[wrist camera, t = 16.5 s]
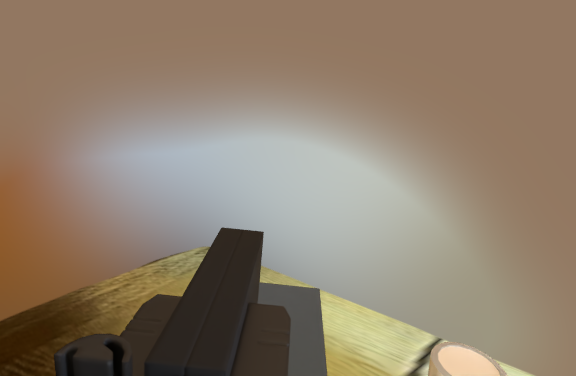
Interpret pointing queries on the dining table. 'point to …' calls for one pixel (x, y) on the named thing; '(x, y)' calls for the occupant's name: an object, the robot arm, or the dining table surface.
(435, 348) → the cream tapered cup
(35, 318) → the dining table surface
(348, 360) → the dining table surface
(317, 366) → the lid
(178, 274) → the dining table surface
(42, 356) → the dining table surface
